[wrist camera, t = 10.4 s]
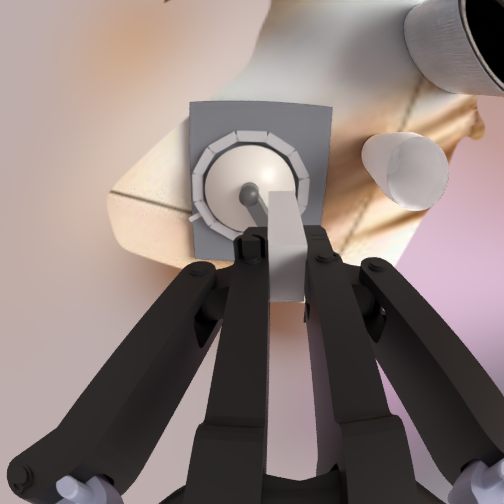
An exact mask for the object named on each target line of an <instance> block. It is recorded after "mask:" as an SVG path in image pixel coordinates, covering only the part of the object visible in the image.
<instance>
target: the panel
mask: <svg viewBox="0 0 504 504" xmlns="http://www.w3.org/2000/svg"><path fill="white" fill-rule="evenodd" d="M331 122H332V107H326V106H317V105H308V104H297V103H284V102H266V101H201V102H190V173H191V198H192V216H190V217H189V218H188V219H189V220H190V222H192V221H193V234H194V248H195V259H207V260H227V261H235V257H234V246H233V240H234V239H235V238H236V237H237V236H239V235H242V234H243V232H242V231H238V230H235V229H232V228H230V227H228V226H226V225H225V224H223V223H222V222H221V221H220V220H218V218H217V217H216V216H215V215H214V214H213V212H212V211H211V209H210V207H209V205H208V203H207V199H206V195H205V183H206V178H207V175H208V172H209V170H210V168H211V167H212V165H213V164H214V163H215V161H216V160H217V159H218V158H219V157H220V156H221V155H222V154H224V153H225V152H226V151H228V150H230V149H232V148H234V147H237V146H241V145H249V144H252V145H260V146H264V147H267V148H269V149H271V150H273V151H275V152H276V153H277V154H279V155H280V156H281V157H282V158H283V159H284V160H285V162H286V163H287V164H288V166H289V168H290V170H291V172H292V175H293V178H294V181H295V196H296V200H297V204H298V208H299V212H300V216H301V220H302V224H303V225H320V226H321V220H322V213H323V205H324V196H325V188H326V179H327V169H328V159H329V148H330V136H331Z"/></svg>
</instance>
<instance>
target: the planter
mask: <svg viewBox="0 0 504 504" xmlns="http://www.w3.org/2000/svg"><path fill="white" fill-rule="evenodd" d="M404 37H405V41H406V45H407V48H408V51H409V53H410V55H411V57H412V59H413V61H414V63H415V64H416V66H417V67H418V69H419V70H420V71H421V72H422V74H423V75H424V76H425V77H426V78H427V79H428V80H429V81H430V82H432V83H433V84H434V85H435V86H437V87H439V88H440V89H442V90H444V91H447V92H450V93H454V94H467V95H488V96H499V97H504V0H426V1H424V2H422V3H420V4H418V5H416V6H415V7H413V8H412V9H411V10H410V11H409V13H408V14H407V16H406V19H405V23H404Z"/></svg>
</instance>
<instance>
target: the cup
mask: <svg viewBox="0 0 504 504" xmlns="http://www.w3.org/2000/svg"><path fill="white" fill-rule="evenodd" d="M361 158H362V162H363V165H364V167H365V169H366V170H367V171H368V173H369V174H370V175H371V177H372V178H373V179H374V181H375V182H376V183H377V185H378V186H379V188H380V189H381V190H382V192H383V193H384V194H385V195H386V196H387V197H388V198H389V199H391V200H392V201H394V202H396V203H397V204H399V205H400V206H402V207H403V208H405V209H408V210H412V211H421V210H425V209H427V208H429V207H431V206H433V205H434V204H435V203H436V202H437V201H438V200H439V199H440V198H441V196H442V195H443V193H444V191H445V189H446V187H447V183H448V178H449V166H448V161H447V158H446V156H445V154H444V152H443V150H442V149H441V147H440V146H439V145H438V144H437V143H436V142H434V141H433V140H431V139H429V138H426V137H423V136H421V135H419V134H416V133H412V132H396V133H385V134H376V135H374V136H372V137H370V138H369V139H368V140H367V141H366V142H365V144H364V146H363V148H362V153H361Z"/></svg>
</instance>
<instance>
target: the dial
mask: <svg viewBox="0 0 504 504" xmlns="http://www.w3.org/2000/svg"><path fill="white" fill-rule="evenodd" d="M268 191H294V192H295V181H294V178H293V175H292V172H291V170H290V168H289V166H288V164H287V163H286V162H285V160H284V159H283V158H282V157H281V156H280V155H279V154H277V153H276V152H275V151H273V150H271V149H269V148H267V147H264V146H260V145H252V144H249V145H241V146H237V147H234V148H232V149H230V150H228V151H226V152H225V153H224V154H222V155H221V156H220V157H219V158H218V159H217V160H216V161H215V163H214V164H213V165H212V167H211V168H210V170H209V172H208V175H207V178H206V183H205V195H206V199H207V203H208V205H209V207H210V209H211V211H212V212H213V214H214V215H215V216H216V217H217V218H218V220H220V221H221V222H222V223H223V224H225V225H226V226H228V227H230V228H232V229H235V230H238V231H242V232H244V231H245V230H246V229H247V228H248V227H267V226H268Z"/></svg>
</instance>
